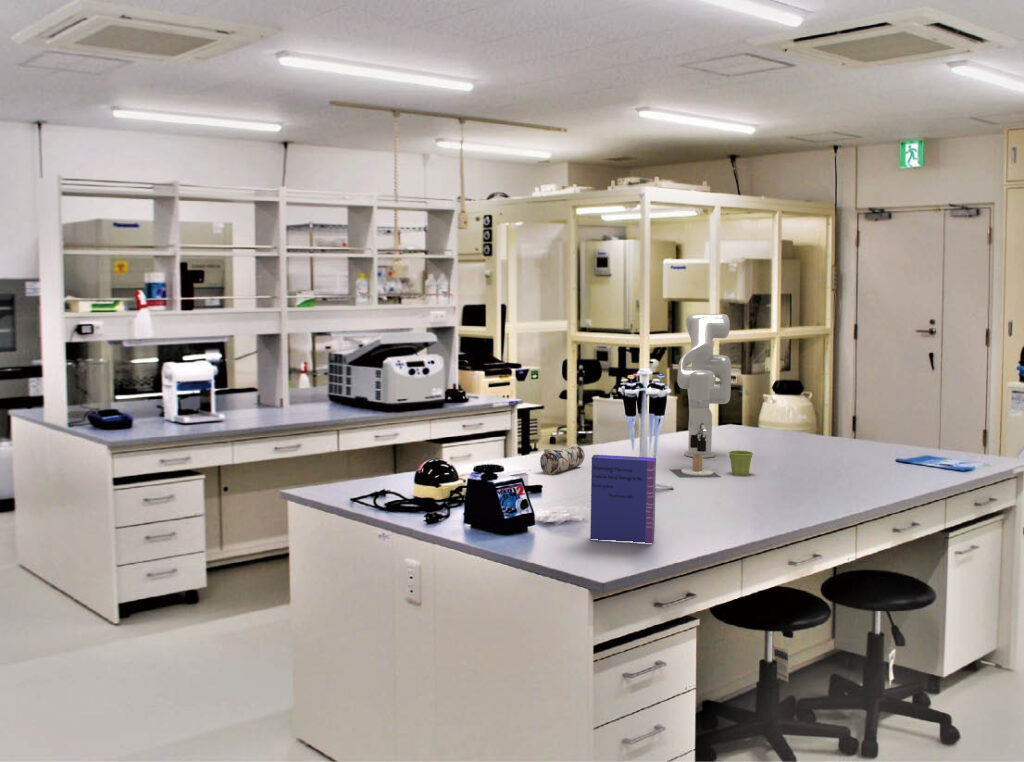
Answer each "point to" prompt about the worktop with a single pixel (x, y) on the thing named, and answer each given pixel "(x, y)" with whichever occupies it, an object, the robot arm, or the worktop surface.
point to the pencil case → (561, 459)
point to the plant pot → (740, 462)
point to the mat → (680, 475)
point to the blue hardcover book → (623, 498)
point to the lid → (697, 467)
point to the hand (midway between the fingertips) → (697, 449)
